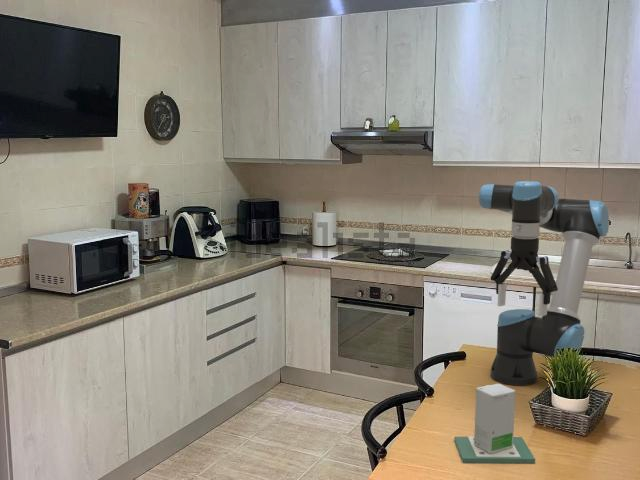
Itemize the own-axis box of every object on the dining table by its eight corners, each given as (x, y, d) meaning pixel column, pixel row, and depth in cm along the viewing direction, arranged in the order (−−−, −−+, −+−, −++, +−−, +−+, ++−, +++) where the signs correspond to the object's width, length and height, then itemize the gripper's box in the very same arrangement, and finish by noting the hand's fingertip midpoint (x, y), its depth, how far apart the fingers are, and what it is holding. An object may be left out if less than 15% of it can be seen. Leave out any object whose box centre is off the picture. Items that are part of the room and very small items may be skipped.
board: (462, 462, 164) (463, 457, 164) (454, 440, 176) (454, 435, 175) (534, 463, 163) (535, 457, 163) (521, 441, 175) (521, 435, 175)
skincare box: (489, 454, 165) (491, 396, 162) (472, 444, 171) (474, 387, 168) (514, 447, 169) (517, 390, 166) (496, 437, 174) (498, 381, 172)
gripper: (480, 233, 190) (477, 303, 194) (558, 243, 171) (554, 322, 175) (495, 230, 195) (492, 299, 198) (573, 240, 176) (569, 317, 179)
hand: (521, 310), depth 186 cm, fingers open, 13 cm apart
